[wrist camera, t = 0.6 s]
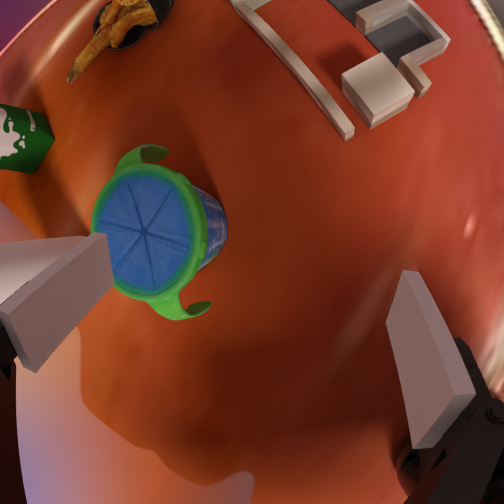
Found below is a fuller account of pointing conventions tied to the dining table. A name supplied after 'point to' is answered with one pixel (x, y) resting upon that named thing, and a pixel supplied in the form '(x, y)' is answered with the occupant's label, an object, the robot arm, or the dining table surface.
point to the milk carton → (23, 139)
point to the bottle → (29, 260)
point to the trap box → (379, 35)
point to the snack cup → (157, 231)
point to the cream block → (376, 90)
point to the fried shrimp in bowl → (120, 28)
